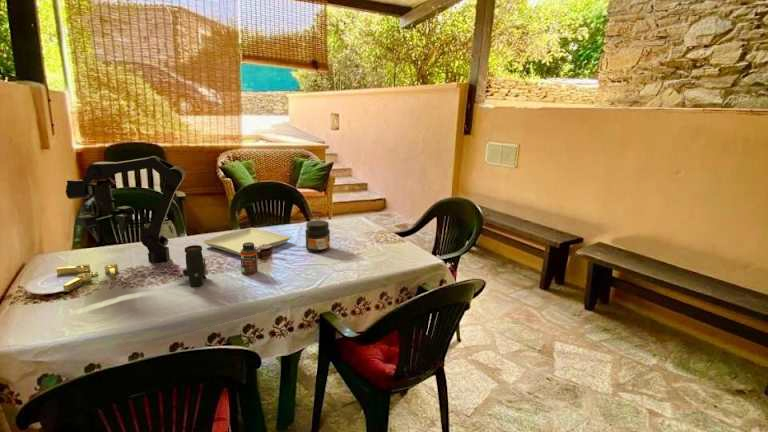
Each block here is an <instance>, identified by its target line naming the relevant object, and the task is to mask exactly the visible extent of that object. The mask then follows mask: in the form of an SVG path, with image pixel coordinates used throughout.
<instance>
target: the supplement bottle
mask: <svg viewBox="0 0 768 432" xmlns="http://www.w3.org/2000/svg"><path fill="white" fill-rule="evenodd" d="M240 254H241V255H240V269H241V270H240V271H241V273H242V274H243V275H245V276H250V275H255V274H257V273H258V272H259V267H258V266H259V263H258V253H257V250H256V249H255V248H254V243H252V242H247V243H244V244H243V249H242V250H241V252H240Z"/></svg>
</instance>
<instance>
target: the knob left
mask: <svg viewBox="0 0 768 432" xmlns="http://www.w3.org/2000/svg"><path fill="white" fill-rule="evenodd" d="M92 281H93V280H92V277H91V274H90V273H82V274H79V275H78V274H77V275H76V278H74V279H72V280H70V281H67V282H66V283H64V284H63V285H62V286H63V291H64V292H67V293H68V292H71V291H73V290H74V289H75V288H78V287H79V286H81V285H87V284H89V283H91V282H92Z"/></svg>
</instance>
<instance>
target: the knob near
mask: <svg viewBox="0 0 768 432" xmlns="http://www.w3.org/2000/svg"><path fill="white" fill-rule="evenodd" d="M118 272H119V265H118V264H117V263H110V264H106V265H105V266H104V273H105V275H109V276H110V280H112V281H113V280H114V281H115V280H117V277H116V274H117V273H118Z"/></svg>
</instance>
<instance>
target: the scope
mask: <svg viewBox="0 0 768 432" xmlns="http://www.w3.org/2000/svg"><path fill="white" fill-rule="evenodd" d="M202 251H203V246H201V245H199V244H198V245H197V244H194V245H193V244H192V245H188V246H186V247H184V253H185V267H186V268H185V269H183V270H182V275H183V277H186V278H187V277H188V281H189V284H190V285H189V286H190V288H192V289H195V288H196V289H197V288H201V287H203V286H204V280H206V279H207V277H206V276H207V275H208V274H209V272H208V271H209V270H208V269H207V266H208V265H207V263H206V258H205V257H203V252H202Z"/></svg>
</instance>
